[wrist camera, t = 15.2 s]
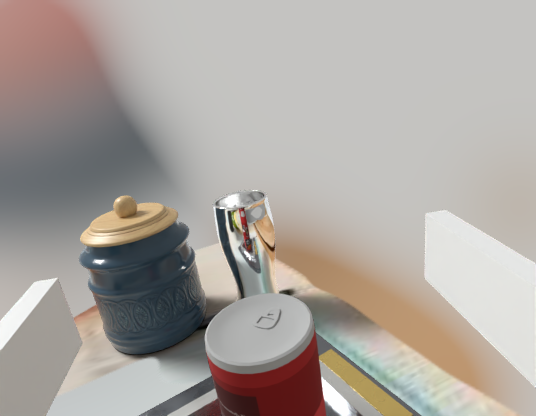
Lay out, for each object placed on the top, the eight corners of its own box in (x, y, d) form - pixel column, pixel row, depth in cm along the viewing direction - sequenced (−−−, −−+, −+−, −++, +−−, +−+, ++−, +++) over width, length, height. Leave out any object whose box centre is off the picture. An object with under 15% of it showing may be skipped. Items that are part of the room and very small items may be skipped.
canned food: (332, 400, 32) (318, 291, 29) (325, 499, 25) (305, 368, 21) (248, 395, 34) (225, 292, 31) (218, 485, 27) (184, 363, 23)
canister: (221, 293, 54) (194, 175, 48) (184, 359, 42) (143, 212, 36) (141, 295, 57) (107, 185, 51) (86, 356, 45) (34, 221, 39)
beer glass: (259, 328, 45) (236, 212, 40) (223, 310, 50) (199, 204, 45) (296, 300, 49) (280, 192, 44) (260, 285, 54) (242, 187, 49)
